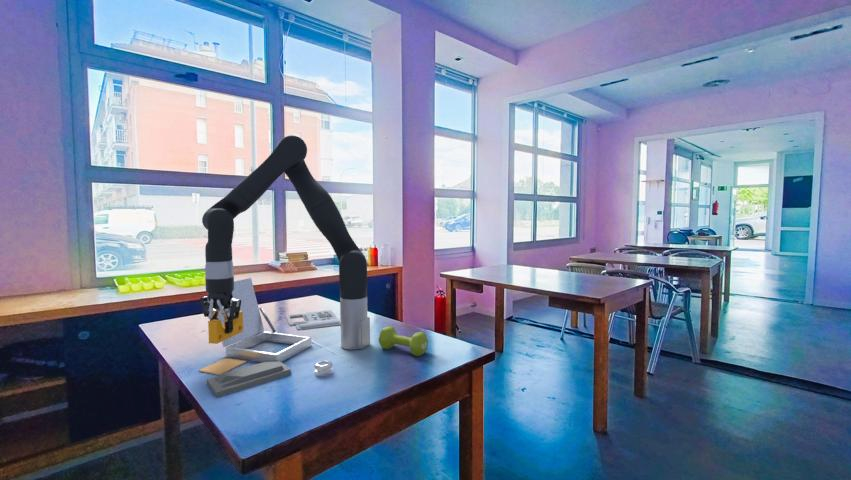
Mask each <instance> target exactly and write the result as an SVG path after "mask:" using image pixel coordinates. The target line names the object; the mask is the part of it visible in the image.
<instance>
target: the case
mask: <svg viewBox="0 0 851 480" xmlns="http://www.w3.org/2000/svg"><path fill="white" fill-rule="evenodd" d="M266 341H267V342H272V343H273V342H274V343H280V344H289V345H290V346H288V347H286V348H284V349H282V350H280V351H278V352H276V353H275V352H268V351H260V350H255V349H249V348H251V347H254V346H256V345H259V344H261V343H263V342H266ZM310 347H312V337H310V336H303V335H297V334H290V333H281V332H279V331H276V332H273V331H265V330H264V331H263V332H261V333H258V334H256V335H253V336H251V337H248V338H246V339H243V340H241V341H239V342H236V343H234V344H231V345H229V346H226V347H225V358H232V359H238V360H244V361H251V362H259V363H263V362H273V361H277V360H279V361H280V362H282V363H283V362H284V361H286V360H288V359H290V358H291V357H293V356H295V355H297V354H299V353H301V352H303V351H304V350H306V349H308V348H310Z"/></svg>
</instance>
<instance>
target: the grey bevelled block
mask: <svg viewBox="0 0 851 480" xmlns="http://www.w3.org/2000/svg"><path fill="white" fill-rule="evenodd" d="M291 375H292V371H291V369H290V367H288V365H286V364H285V363H283V361H282V362H280V361H279V360H277V361H273V362H259V363H256V364H252V365H249V366H248V365H247V366H245V367H241V368H238V369H232V370H230V371H228V372H226V373H223V374H221V375H217V376H215V377H211V378H208V379H206V382H205V385H206V387H208V389H209V390H210V392H212V393H213V394H214V395H215V397H216V398H221V397H223V396H226V395H229V394H233V393H235V392H239V391H243V390H247V389H248V388H252V387H255V386H258V385H262V384H265V383H268V382H271V381H274V380H278V379H280V378H284V377H288V376H291Z"/></svg>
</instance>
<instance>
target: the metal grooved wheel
mask: <svg viewBox="0 0 851 480" xmlns="http://www.w3.org/2000/svg"><path fill="white" fill-rule="evenodd" d="M332 373H333V362H332V361H330V360H320V361H318V362H316V363H315V364H314V375H315V376H317V377H328V376H330V375H331V374H332Z"/></svg>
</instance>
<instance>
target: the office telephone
mask: <svg viewBox="0 0 851 480" xmlns="http://www.w3.org/2000/svg"><path fill="white" fill-rule="evenodd" d="M285 318H286V321H287V324H288V325H289V327H293V326H294V327H295V329H296V330H297V331H303V330H313V329H322V328H323V329H324V328H330V327H338V326H340V327H341V321H340V319H339V318H338V317H337V316H336V315H335V313H334V312H333V310H331V309H329V310H320V311H312V312H311V311H310V312H305V313H298V314H290V315H289V314H287V315H286V317H285ZM296 318H303V319H304V320H303V321H295V322H293V321H292V319H296Z"/></svg>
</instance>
